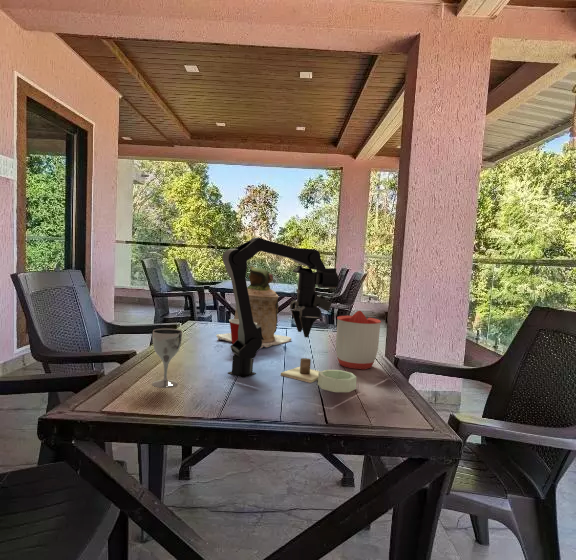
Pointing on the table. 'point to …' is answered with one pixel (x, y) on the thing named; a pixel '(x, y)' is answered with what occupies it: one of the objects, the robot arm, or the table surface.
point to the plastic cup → (235, 329)
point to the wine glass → (166, 351)
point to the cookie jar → (262, 308)
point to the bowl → (337, 381)
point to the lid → (302, 372)
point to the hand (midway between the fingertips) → (302, 334)
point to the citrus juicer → (357, 340)
